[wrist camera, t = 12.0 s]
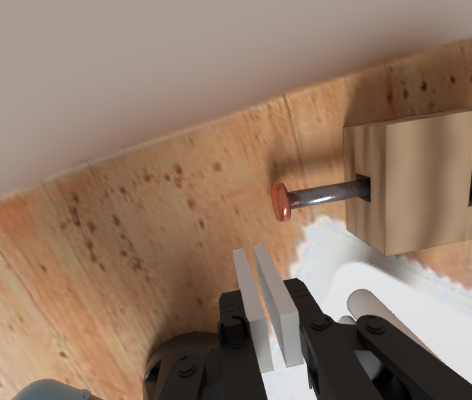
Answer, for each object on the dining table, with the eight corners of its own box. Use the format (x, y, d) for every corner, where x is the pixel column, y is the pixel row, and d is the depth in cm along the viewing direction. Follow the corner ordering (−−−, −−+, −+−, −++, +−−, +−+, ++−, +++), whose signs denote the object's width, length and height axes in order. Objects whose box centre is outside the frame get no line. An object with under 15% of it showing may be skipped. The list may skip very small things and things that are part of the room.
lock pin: (273, 215, 32) (283, 227, 27) (269, 181, 30) (279, 188, 26) (375, 196, 32) (400, 205, 28) (374, 162, 31) (401, 167, 27)
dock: (346, 229, 35) (385, 256, 28) (342, 127, 32) (386, 125, 24) (457, 208, 36) (525, 228, 29) (466, 107, 33) (546, 98, 25)
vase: (396, 331, 41) (563, 506, 22) (359, 354, 41) (490, 547, 22) (366, 283, 38) (528, 437, 19) (326, 309, 38) (444, 486, 19)
